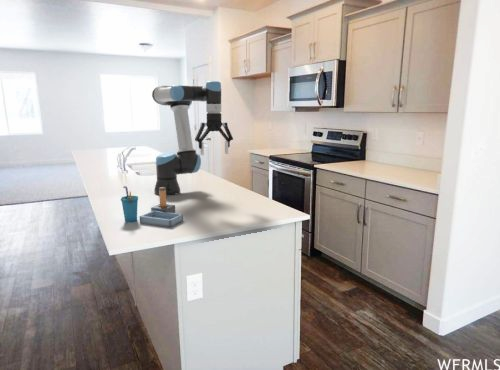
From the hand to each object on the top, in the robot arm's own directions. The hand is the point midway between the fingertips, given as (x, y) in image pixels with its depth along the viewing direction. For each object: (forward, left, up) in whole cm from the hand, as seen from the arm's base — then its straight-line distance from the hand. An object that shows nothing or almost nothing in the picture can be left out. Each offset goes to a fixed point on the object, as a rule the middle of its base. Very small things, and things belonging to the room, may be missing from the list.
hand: (214, 154), depth 188 cm
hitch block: (-13, -29, -26) cm, 41 cm away
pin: (-13, -29, -26) cm, 41 cm away
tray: (-7, -39, -26) cm, 47 cm away
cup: (-22, -42, -26) cm, 54 cm away
